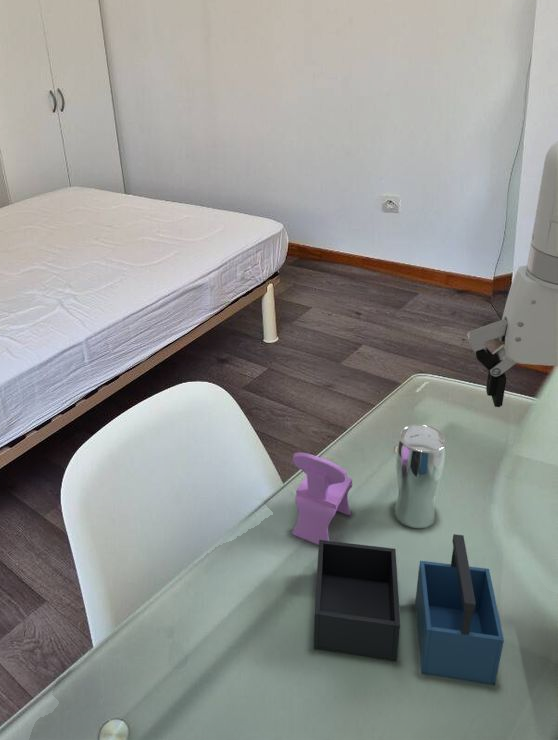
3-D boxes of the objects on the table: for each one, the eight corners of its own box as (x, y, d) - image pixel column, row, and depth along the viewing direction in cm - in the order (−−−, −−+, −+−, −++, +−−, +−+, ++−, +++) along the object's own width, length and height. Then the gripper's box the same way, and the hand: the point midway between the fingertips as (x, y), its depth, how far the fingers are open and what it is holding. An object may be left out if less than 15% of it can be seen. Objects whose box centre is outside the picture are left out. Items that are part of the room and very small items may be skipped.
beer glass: (391, 527, 105) (398, 450, 99) (390, 496, 111) (396, 421, 105) (439, 533, 104) (450, 455, 97) (436, 501, 110) (445, 425, 103)
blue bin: (481, 611, 91) (494, 538, 85) (495, 685, 82) (510, 609, 76) (415, 603, 93) (423, 530, 87) (421, 674, 84) (430, 598, 78)
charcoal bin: (392, 583, 96) (395, 548, 93) (396, 662, 86) (400, 626, 83) (318, 573, 99) (319, 539, 96) (313, 649, 88) (314, 613, 85)
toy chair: (358, 514, 108) (362, 438, 102) (336, 552, 102) (339, 473, 95) (309, 496, 113) (310, 421, 106) (285, 531, 106) (285, 454, 100)
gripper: (652, 250, 70) (617, 389, 78) (472, 247, 74) (455, 379, 82) (682, 282, 64) (641, 430, 71) (483, 276, 68) (464, 417, 75)
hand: (542, 403), depth 77 cm, fingers open, 9 cm apart
